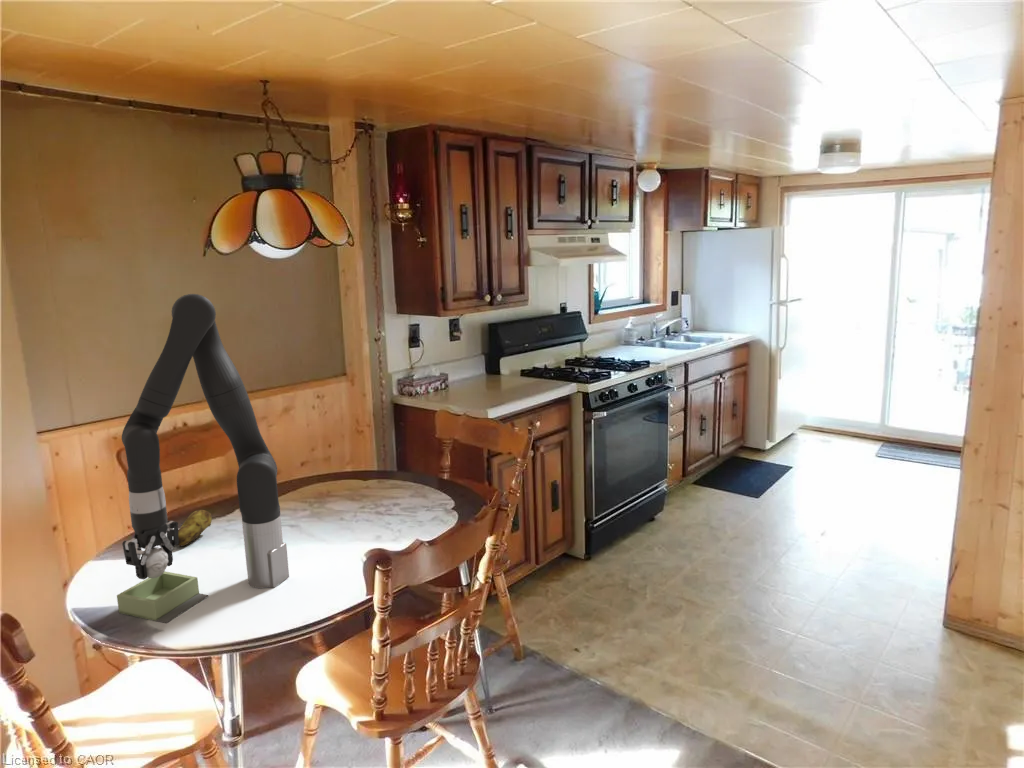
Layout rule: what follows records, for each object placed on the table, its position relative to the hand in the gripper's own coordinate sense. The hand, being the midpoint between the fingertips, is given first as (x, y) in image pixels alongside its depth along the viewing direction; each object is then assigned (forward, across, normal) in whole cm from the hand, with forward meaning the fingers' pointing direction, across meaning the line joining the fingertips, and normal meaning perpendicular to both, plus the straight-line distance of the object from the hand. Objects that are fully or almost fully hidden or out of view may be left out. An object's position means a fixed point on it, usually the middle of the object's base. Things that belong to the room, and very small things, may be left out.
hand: (155, 571), depth 163 cm
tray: (+8, 0, -2) cm, 9 cm away
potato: (+9, +32, +21) cm, 39 cm away
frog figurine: (+1, 0, 0) cm, 1 cm away
